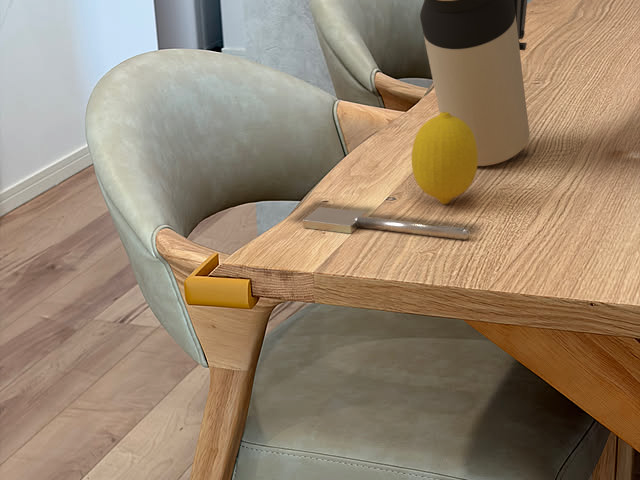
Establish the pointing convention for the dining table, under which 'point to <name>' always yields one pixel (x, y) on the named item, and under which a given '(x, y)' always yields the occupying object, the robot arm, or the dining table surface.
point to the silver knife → (375, 224)
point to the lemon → (444, 157)
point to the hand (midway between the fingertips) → (499, 118)
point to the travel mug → (479, 71)
